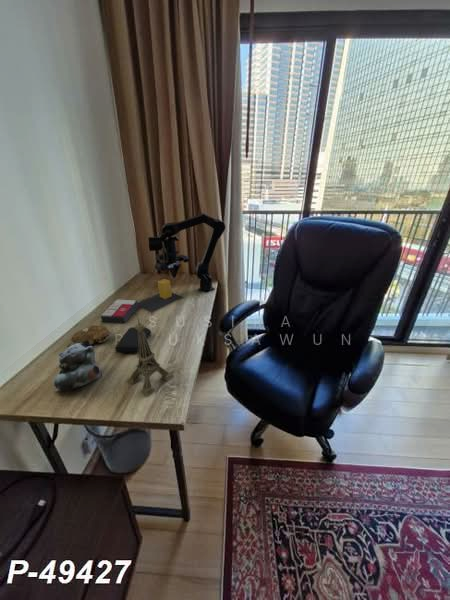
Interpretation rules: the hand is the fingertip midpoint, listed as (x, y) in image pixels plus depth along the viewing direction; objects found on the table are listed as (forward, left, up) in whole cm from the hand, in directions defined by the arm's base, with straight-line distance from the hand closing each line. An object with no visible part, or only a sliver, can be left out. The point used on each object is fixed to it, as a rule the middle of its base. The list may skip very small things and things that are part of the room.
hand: (174, 277), depth 135 cm
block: (+7, 0, -9) cm, 11 cm away
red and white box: (+32, -3, -9) cm, 33 cm away
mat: (+12, +1, -9) cm, 15 cm away
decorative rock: (+49, +6, -9) cm, 50 cm away
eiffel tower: (+48, +43, -9) cm, 65 cm away
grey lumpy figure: (+63, +25, -9) cm, 68 cm away
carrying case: (+40, +22, -9) cm, 47 cm away
